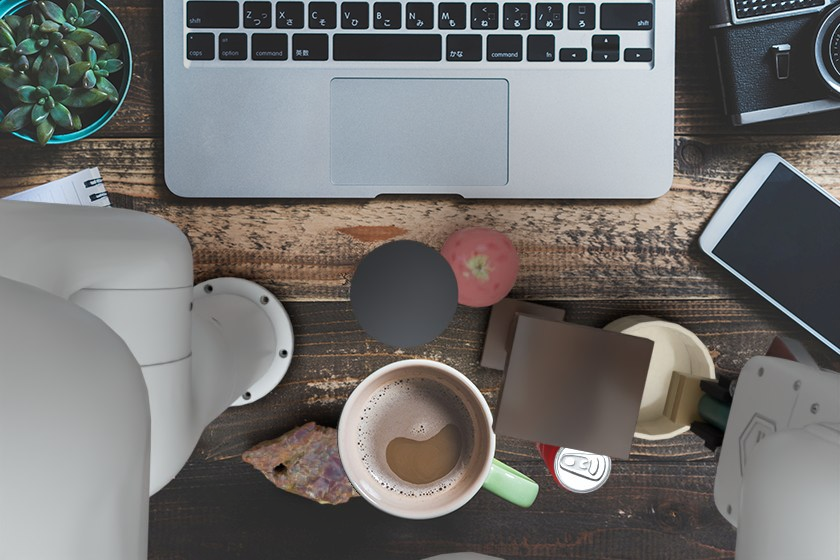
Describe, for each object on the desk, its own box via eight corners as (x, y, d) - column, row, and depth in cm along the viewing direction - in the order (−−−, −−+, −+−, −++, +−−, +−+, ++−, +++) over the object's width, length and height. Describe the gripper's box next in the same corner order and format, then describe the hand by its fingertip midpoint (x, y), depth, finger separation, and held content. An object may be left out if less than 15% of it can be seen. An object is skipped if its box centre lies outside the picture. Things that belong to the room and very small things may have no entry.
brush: (662, 414, 52) (711, 449, 43) (672, 370, 52) (724, 396, 43) (725, 427, 52) (786, 464, 44) (735, 383, 52) (799, 411, 43)
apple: (428, 292, 67) (429, 300, 59) (446, 219, 66) (449, 217, 58) (501, 310, 67) (512, 320, 59) (519, 237, 66) (533, 237, 58)
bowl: (572, 413, 67) (584, 427, 62) (595, 305, 67) (609, 310, 62) (680, 434, 68) (700, 450, 63) (704, 326, 67) (727, 334, 62)
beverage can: (573, 455, 68) (606, 501, 56) (523, 445, 68) (544, 489, 56) (585, 404, 67) (620, 440, 55) (534, 394, 67) (558, 428, 55)
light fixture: (392, 317, 67) (376, 365, 42) (364, 255, 66) (332, 266, 42) (454, 290, 67) (475, 322, 42) (427, 228, 66) (432, 222, 41)
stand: (468, 367, 67) (493, 434, 44) (484, 288, 67) (518, 314, 44) (557, 385, 67) (628, 460, 44) (574, 306, 67) (655, 341, 44)
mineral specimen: (276, 391, 62) (276, 394, 69) (231, 468, 60) (236, 463, 67) (389, 453, 63) (379, 449, 70) (350, 530, 61) (343, 519, 68)
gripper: (858, 320, 30) (688, 289, 49) (777, 663, 31) (640, 505, 50) (1020, 352, 30) (790, 309, 49) (934, 692, 31) (740, 524, 50)
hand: (715, 408), depth 49 cm, fingers closed on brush, 2 cm apart
